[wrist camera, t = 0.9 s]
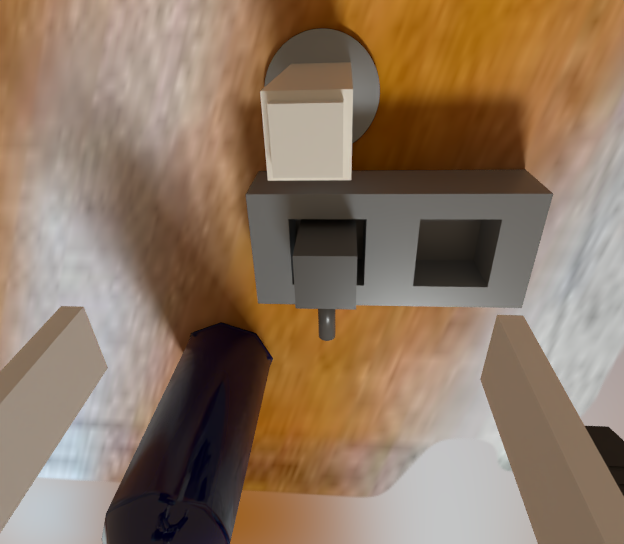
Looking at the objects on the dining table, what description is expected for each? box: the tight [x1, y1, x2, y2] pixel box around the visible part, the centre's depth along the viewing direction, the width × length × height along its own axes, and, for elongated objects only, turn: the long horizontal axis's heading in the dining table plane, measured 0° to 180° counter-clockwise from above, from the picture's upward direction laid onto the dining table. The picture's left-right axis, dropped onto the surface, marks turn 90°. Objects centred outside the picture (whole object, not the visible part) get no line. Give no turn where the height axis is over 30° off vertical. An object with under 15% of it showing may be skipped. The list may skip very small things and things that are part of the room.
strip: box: [246, 170, 553, 341], centre depth 31 cm, size 10×20×9 cm, turn 92°
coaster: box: [265, 28, 380, 143], centre depth 30 cm, size 8×8×1 cm
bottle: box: [102, 322, 273, 544], centre depth 31 cm, size 9×9×30 cm
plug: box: [260, 62, 353, 181], centre depth 24 cm, size 4×4×13 cm
